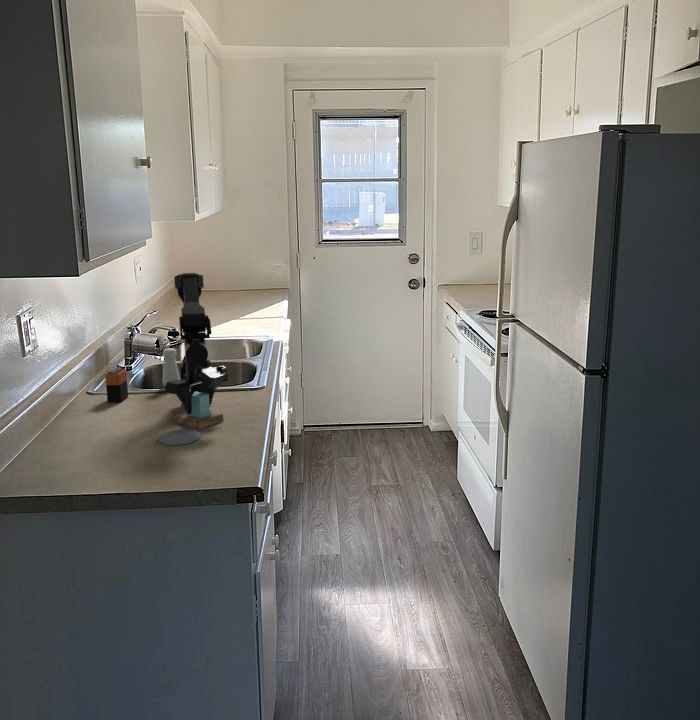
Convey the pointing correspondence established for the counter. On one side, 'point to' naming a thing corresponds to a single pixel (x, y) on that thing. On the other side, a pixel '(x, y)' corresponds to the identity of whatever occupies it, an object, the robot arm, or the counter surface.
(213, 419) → the brown flat piece
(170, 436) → the coaster
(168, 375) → the salt shaker
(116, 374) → the battery
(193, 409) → the plug
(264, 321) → the counter surface
